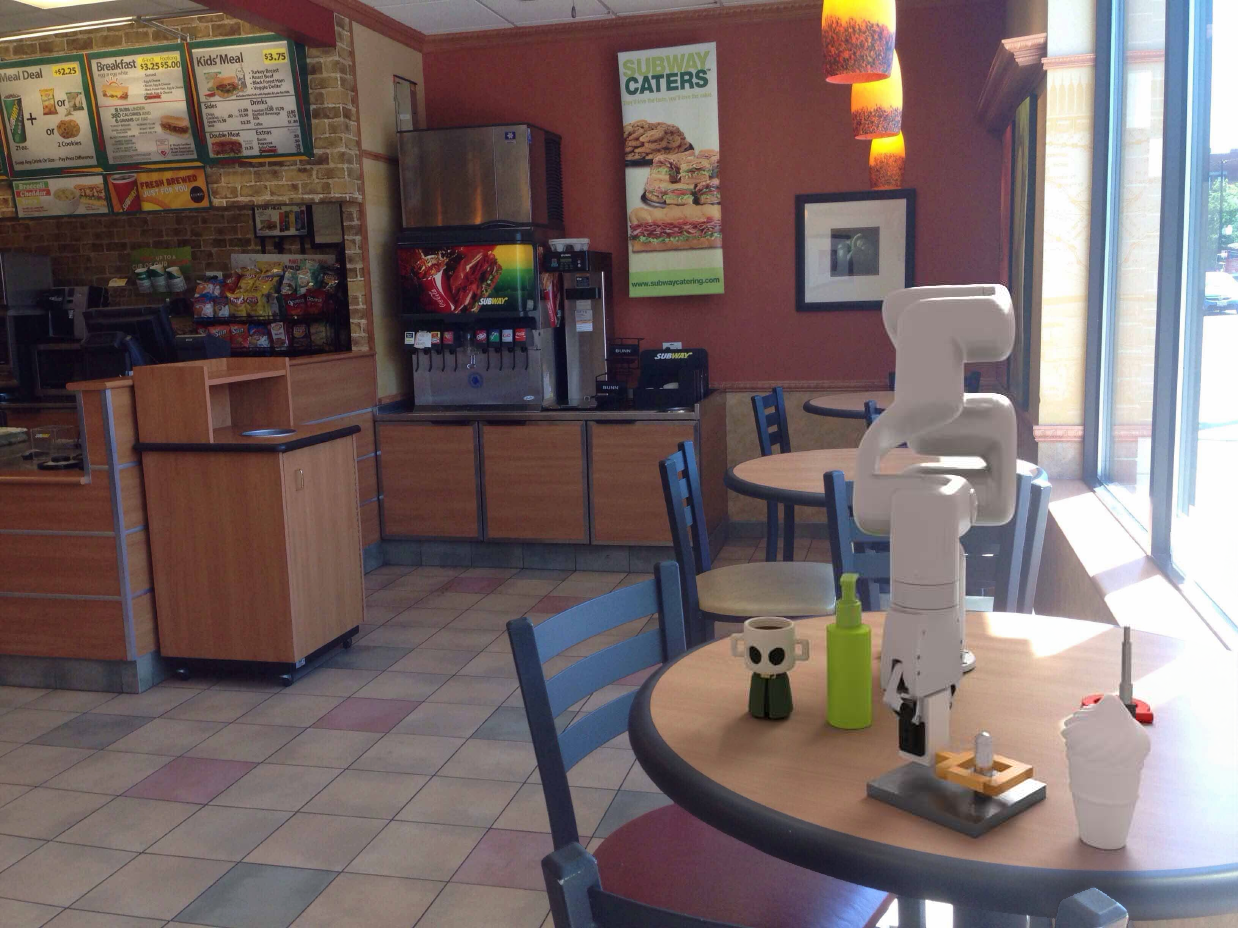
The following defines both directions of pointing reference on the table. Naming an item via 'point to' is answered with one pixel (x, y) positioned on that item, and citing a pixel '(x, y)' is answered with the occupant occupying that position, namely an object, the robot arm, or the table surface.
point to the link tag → (958, 764)
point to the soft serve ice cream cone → (1105, 769)
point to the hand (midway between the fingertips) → (924, 745)
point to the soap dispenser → (849, 662)
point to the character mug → (770, 663)
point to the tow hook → (1126, 686)
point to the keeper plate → (955, 794)
